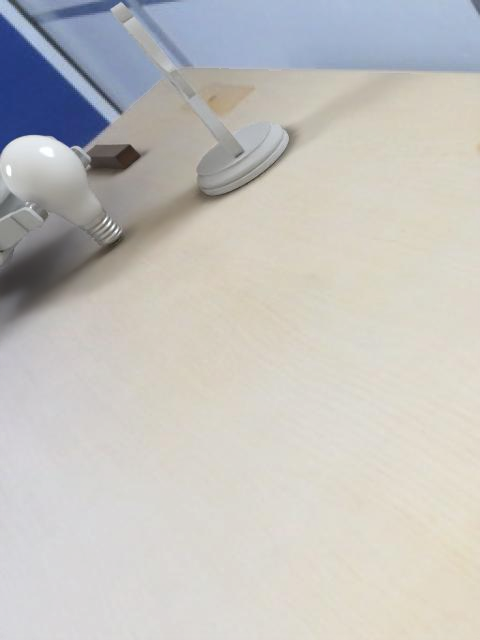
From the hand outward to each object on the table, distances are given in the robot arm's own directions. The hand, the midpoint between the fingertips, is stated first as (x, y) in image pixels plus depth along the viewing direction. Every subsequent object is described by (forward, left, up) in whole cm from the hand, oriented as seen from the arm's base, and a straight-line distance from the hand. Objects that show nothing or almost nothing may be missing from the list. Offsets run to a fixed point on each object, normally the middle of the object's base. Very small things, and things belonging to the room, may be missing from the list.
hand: (61, 182), depth 68 cm
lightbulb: (0, 0, -7) cm, 7 cm away
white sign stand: (+14, -5, -7) cm, 16 cm away
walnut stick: (+6, +25, -7) cm, 26 cm away
